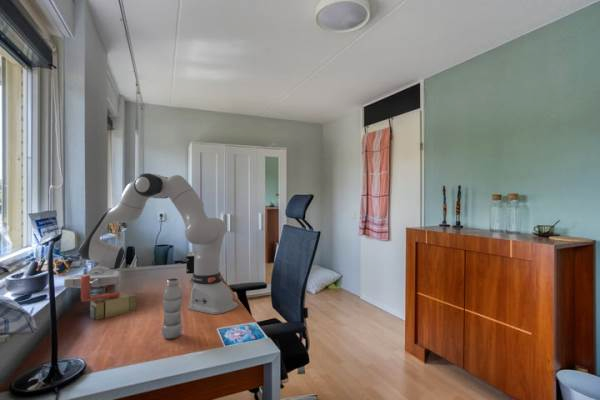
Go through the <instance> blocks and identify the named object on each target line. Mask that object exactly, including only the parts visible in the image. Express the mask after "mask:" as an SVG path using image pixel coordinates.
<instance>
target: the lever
mask: <svg viewBox="0 0 600 400" xmlns="http://www.w3.org/2000/svg"><path fill="white" fill-rule="evenodd" d="M82 275H83V274H82ZM120 293H121V292H120V291H111V292H107V293H103V294H97V295H91V287H90V275H83V276H81V287H80V300H81V302H82V303H85V302H91V300H96V299H102V298H107V297H117V296H119V295H120Z"/></svg>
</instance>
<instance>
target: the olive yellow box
mask: <svg viewBox="0 0 600 400" xmlns="http://www.w3.org/2000/svg"><path fill="white" fill-rule="evenodd" d="M136 309H137V295H136V294H135V293H132V292H130V291H128V292H120V295H119V296H117V297H107V298H102V299H96V300H91V301H90V305H89V317H90V318H91V319H93V320H101V319H104V318H105V319H106V318H110V317H114V316H118V315H121V314H126V313H129V312H131V311H135V310H136Z"/></svg>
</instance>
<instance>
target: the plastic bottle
mask: <svg viewBox="0 0 600 400" xmlns="http://www.w3.org/2000/svg"><path fill="white" fill-rule="evenodd" d="M182 301H183V292H182V290H181V288H180V287H179V279H178V278H175V277H173V278H169V279H167V280H166V288H165V290H164V292H163V294H162V302H163V313H164V315H163V323H162V327H161V328H162V329H161V333H162V334H161V335H162V337H163V338H164V339H168V340H171V339H176V338H178V337H180V335H181V334H182V332H183V325H182V318H181V309H182Z"/></svg>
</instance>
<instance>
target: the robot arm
mask: <svg viewBox="0 0 600 400" xmlns="http://www.w3.org/2000/svg"><path fill="white" fill-rule="evenodd" d="M150 198H153V199H168V198H169V199H170V200H171V202H172V204H173V205H174V207H175V209H176V210H177V211H178V213H179V214H180V216H181V218H182V220H183V223H184V225H185V230H184V235H185V239H186V240H187V241H188V242H189V243H191V244H193V245H198V248H197V251H195V252H196V254H195V257H194V273H193V282H194V283H192V284H193V285H192V288H191V290H190V291H191V292H190V301H189V305H188V307H187V309H188V310H192V311H197V312H201V313H206V314H210V315H211V314H212V315H219V314H220V315H221V314H224V313H227V312H230V311H232V310H234V309H236V308H238V306H239V303H238V302H236V301H234V300H233V293H232V291H231V290H230V288H228V287H227V286H226V284H225V283H224V282H223V279H224V275H222V274H221V271H220V255H221V250H222V245H223V240H224V237H225V235H226V233H227V229H228V228H227V224H226V222H225V221H224V220H222V219H220V218H217V217H208V216H207V215H206V212H205V209H204V202H203V201H202V199H201V198H200V197H199V195H198V193H197V192H196V191H195V189H194V187H192V185H191V184H190V183H189V182H188V181H187V180H186V179H185V178H184V177H183V176H181V175H179V174H174V175H171V176H170V177H167V176H163V175H160V174H155V173H141V174H139V175H138V176H136V177H135V179H134V181H130V182H129V183H128V184H127V185H126V186H125V188H124V189H123V191H122V193H121V195H120V197H119V198H118V201H117V202H116V205H114V206H113V207H111V208H108V209H107V210H105V211H104V213H102V215H101V216H100V218H99V219H98V220H97V222H96V224H95V225H94V227H93V229H92V230H91V231H90V233H89V235H87V238H86V239H85V240H84V241H83V242H82V244H80V247H79V249H78V254H79V256H80V258H81V259H82V260H86V261H90V262H91V261H92V262H94V263H95V262H96V263H98V264H97V265H96V266H94V267H92V268H91V269H90V270H89V271H87V272H86V274H83V273H82V274H72V275H70V276H67V277H65V278H64V281H63V286H64V288H76V287H79V288H81V276H83V275H90V288H91V287H93V288H100V287H102V286H110V285H112V286H113V285H119V284H120V283H121V276H122V275H121V269H120V268H121V266H122V264H123V263H124V260H125V257H126V252H125V248H123V246H119V245H116V244H114V243H109V242H105V241H102V240H101V239H100V237H101V236H102V234H103V233H104V231H105V230H106V228H107V227H108V225H110V224H114V223H115V224H116V223H117V224H118V223H123V224H124V223H130V222H133V221H136V220H138V218H140V217H141V215H142V213H143V211H144V208H145V206H146V204H147V201H148V200H149V199H150Z"/></svg>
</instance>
